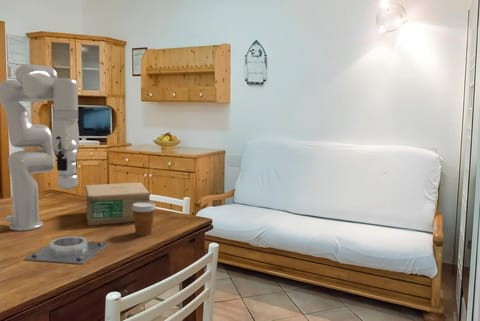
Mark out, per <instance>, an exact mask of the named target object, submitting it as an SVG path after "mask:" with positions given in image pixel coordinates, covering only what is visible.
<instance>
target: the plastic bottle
mask: <svg viewBox="0 0 480 321" xmlns="http://www.w3.org/2000/svg"><path fill="white" fill-rule="evenodd" d="M59 149H63V147H59ZM77 149H78V150H79V148H78V145H77V143H76V142H75V141H74V140H73V141H72V142H71V143H70V146H69V149H68V150H67V151H66V158H65V159H67V171H58V173H57V178H56V179H57V180H56V183H57V184H56V185H57V187H58V189H62V190H72V189H76V188H77V187H78V186H79V185H78V184H79V178H78V174H77V173H78V172H77V168H76V157H77V156H78V152H77ZM61 152H62V151H61ZM62 154H63V152H62ZM77 158H78V157H77Z"/></svg>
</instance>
